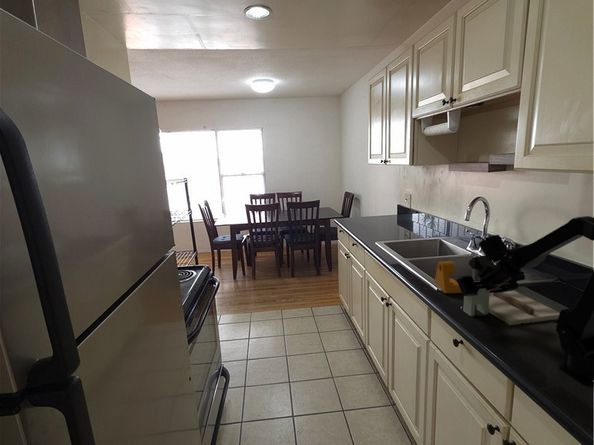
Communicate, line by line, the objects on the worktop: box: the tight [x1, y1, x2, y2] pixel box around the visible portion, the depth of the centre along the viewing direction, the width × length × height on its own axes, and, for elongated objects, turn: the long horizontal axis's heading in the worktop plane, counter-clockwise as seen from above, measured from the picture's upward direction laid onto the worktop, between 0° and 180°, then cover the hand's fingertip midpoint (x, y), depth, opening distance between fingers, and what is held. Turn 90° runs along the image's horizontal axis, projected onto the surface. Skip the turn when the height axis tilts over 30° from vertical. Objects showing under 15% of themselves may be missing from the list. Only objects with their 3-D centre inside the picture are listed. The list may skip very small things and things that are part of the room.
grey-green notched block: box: [462, 280, 490, 317], centre depth 111 cm, size 4×6×10 cm, turn 98°
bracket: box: [434, 260, 462, 294], centre depth 131 cm, size 11×7×12 cm, turn 176°
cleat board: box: [488, 290, 560, 326], centre depth 114 cm, size 20×19×4 cm
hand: (473, 293), depth 112 cm, fingers closed on grey-green notched block, 6 cm apart
